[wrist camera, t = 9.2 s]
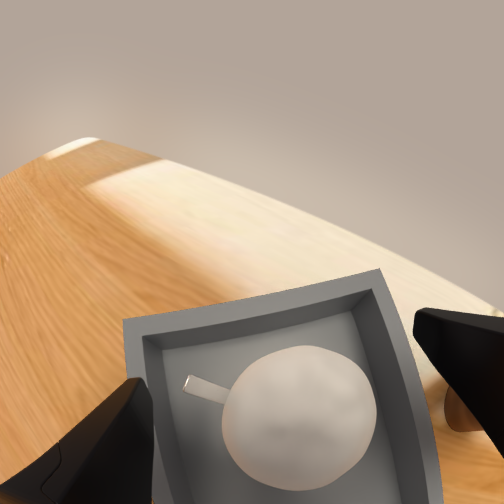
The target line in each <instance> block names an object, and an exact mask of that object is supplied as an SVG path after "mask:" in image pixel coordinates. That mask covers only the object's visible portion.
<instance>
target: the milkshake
mask: <svg viewBox="0 0 504 504" xmlns="http://www.w3.org/2000/svg"><path fill="white" fill-rule="evenodd" d="M183 392H185V393H187V394H190V395H193V396H196V397H200V398H203V399H206V400H210V401H213V402H217V403H220V404H224V409H223V414H222V434H223V439H224V442H225V445H226V447H227V449H228V451H229V453H230V455H231V457H232V458H233V460H234V461H235V462H236V464H237V465H238V466H239V467H240V468H241V469H242V470H243V471H244V472H245V473H246V474H247V475H249V476H250V477H252V478H253V479H255V480H257V481H259V482H261V483H264V484H266V485H269V486H272V487H276V488H279V489H284V490H291V491H303V490H311V489H317V488H320V487H323V486H326V485H328V484H330V483H332V482H333V481H335V480H336V479H338V478H339V477H340V476H342V475H343V474H344V473H346V472H347V471H348V470H349V469H351V468H352V467H353V466H354V465H355V464H356V463H357V462H358V461H359V460H360V459H361V458H362V457H363V455H364V454H365V452H366V450H367V448H368V446H369V444H370V441H371V439H372V436H373V433H374V429H375V424H376V403H375V398H374V394H373V391H372V388H371V385H370V383H369V380H368V379H367V377H366V375H365V374H364V372H363V371H362V370H361V369H360V367H359V366H358V365H356V364H355V363H354V362H353V361H351V360H350V359H348V358H347V357H345V356H343V355H341V354H338V353H336V352H333V351H330V350H327V349H324V348H320V347H316V346H308V345H303V346H295V347H290V348H286V349H283V350H280V351H277V352H274V353H271V354H268V355H266V356H264V357H262V358H260V359H258V360H257V361H255V362H254V363H252V364H251V365H250V366H249V367H247V368H246V369H245V370H244V371H243V373H242V374H241V375H240V376H239V377H238V379H237V380H236V382H235V383H234V385H233V386H232V388H231V390H229V389H227V388H224V387H222V386H219V385H216V384H214V383H211V382H209V381H207V380H204V379H202V378H199V377H197V376H195V375H192V374H190V375H188V377H187V380H186V382H185V384H184V387H183Z"/></svg>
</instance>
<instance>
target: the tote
mask: <svg viewBox="0 0 504 504" xmlns="http://www.w3.org/2000/svg"><path fill="white" fill-rule="evenodd" d="M123 334H124V349H125V360H126V370H127V379H129V378H134V377H141V378H143V380H144V381H145V384H146V386H147V388H148V390H149V392H150V394H151V396H152V399H153V418H154V459H153V476H152V498H153V501H154V504H444V500H443V489H442V481H441V473H440V466H439V459H438V453H437V448H436V442H435V437H434V432H433V428H432V423H431V419H430V414H429V410H428V406H427V402H426V398H425V394H424V391H423V387H422V384H421V380H420V377H419V373H418V370H417V367H416V363H415V360H414V357H413V354H412V351H411V348H410V345H409V342H408V339H407V336H406V333H405V330H404V328H403V325H402V322H401V320H400V317H399V314H398V312H397V309H396V306H395V304H394V301H393V299H392V296H391V294H390V291H389V289H388V287H387V284H386V282H385V279H384V277H383V275H382V272H381V270H380V268H379V269H375V270H371V271H367V272H363V273H359V274H355V275H351V276H347V277H343V278H339V279H334V280H330V281H326V282H321V283H317V284H313V285H308V286H304V287H299V288H295V289H290V290H285V291H281V292H276V293H271V294H266V295H261V296H256V297H251V298H246V299H241V300H236V301H231V302H225V303H220V304H215V305H209V306H203V307H198V308H192V309H186V310H180V311H174V312H168V313H162V314H155V315H149V316H142V317H135V318H128V319H123ZM303 345H308V346H316V347H320V348H324V349H327V350H330V351H333V352H336V353H338V354H341V355H343V356H345V357H347V358H348V359H350V360H351V361H353V362H354V363H355V364H356V365H358V366H359V367H360V369H361V370H362V371H363V372H364V374H365V375H366V377H367V379H368V380H369V383H370V385H371V388H372V391H373V394H374V398H375V403H376V424H375V429H374V433H373V436H372V439H371V441H370V444H369V446H368V448H367V450H366V452H365V454H364V455H363V457H362V458H361V459H360V460H359V461H358V462H357V463H356V464H355V465H354V466H353V467H352V468H351V469H349V470H348V471H347V472H346V473H344V474H343V475H342V476H340V477H339V478H338V479H336V480H335V481H333V482H332V483H330V484H328V485H326V486H323V487H320V488H317V489H311V490H303V491H291V490H284V489H279V488H276V487H272V486H269V485H266V484H264V483H261V482H259V481H257V480H255V479H253V478H252V477H250V476H249V475H247V474H246V473H245V472H244V471H243V470H242V469H241V468H240V467H239V466H238V465H237V464H236V462H235V461H234V460H233V458H232V457H231V455H230V453H229V451H228V449H227V447H226V445H225V442H224V439H223V434H222V414H223V409H224V404H220V403H217V402H213V401H210V400H206V399H203V398H200V397H196V396H193V395H190V394H187V393H185V392H183V387H184V384H185V382H186V380H187V377H188V375H190V374H192V375H195V376H197V377H199V378H202V379H204V380H207V381H209V382H211V383H214V384H216V385H219V386H222V387H224V388H227V389H229V390H231V388H232V386H233V385H234V383H235V382H236V380H237V379H238V377H239V376H240V375H241V374H242V373H243V371H244V370H245V369H246V368H247V367H249V366H250V365H251V364H252V363H254V362H255V361H257V360H258V359H260V358H262V357H264V356H266V355H268V354H271V353H274V352H277V351H280V350H283V349H286V348H290V347H295V346H303Z"/></svg>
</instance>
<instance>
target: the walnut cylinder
mask: <svg viewBox="0 0 504 504" xmlns="http://www.w3.org/2000/svg"><path fill="white" fill-rule="evenodd" d="M445 416H446V420H447V422H448V424H449V426H450V427H451V428H452V429H453V430H455V431H458V432H469V431H482V430H484V429H483V428H482V427H481V425H480V424H479V423H478V421H477V420H476V419H475V417H474V416H473V415H472V413H471V412H470V411H469V409H468V408H467V407H466V406H465V404H464V403H463V402H462V400H461V399H460V398H459V397H458V395H457V394H456V393H455V392H454V390H453V389H452V388H451V387H449V389H448V391H447V395H446V399H445Z"/></svg>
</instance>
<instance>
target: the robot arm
mask: <svg viewBox="0 0 504 504" xmlns="http://www.w3.org/2000/svg"><path fill="white" fill-rule="evenodd" d="M413 336H414V338H415V340H416V341H417V342H418V344H419V345H420V347H421V348H422V350H423V351H424V353H425V354H426V355H427V357H428V358H429V360H430V361H431V363H432V364H433V366H434V367H435V368H436V370H437V371H438V372H439V373H440V374H441V376H442V377H443V378H444V379H445V381H446V382H447V383H448V384H449V385H450V387H451V388H452V389H453V390H454V392H455V393H456V394H457V395H458V397H459V398H460V399H461V400H462V402H463V403H464V404H465V406H466V407H467V408H468V409H469V411H470V412H471V413H472V415H473V416H474V417H475V419H476V420H477V421H478V423H479V424H480V425H481V427H482V428H483V429H484V431H485V432H486V434H487V435H488V436H489V438H490V439H491V441H492V442H493V443H494V445H495V447H496V448H497V449H498V451H499V452H500V454H501V455H502V457H503V458H504V318H503V317H495V316H487V315H479V314H471V313H463V312H456V311H448V310H441V309H434V308H427V307H425V308H422V309H420V310H418V311H416V313H415V317H414V325H413ZM153 459H154V418H153V399H152V396H151V394H150V392H149V390H148V388H147V386H146V384H145V381H144V380H143V378H141V377H134V378H129V379H127V380H126V381H125V382H124V383H123V384H122V385H121V386H120V387H118V388H117V389H116V390H115V391H114V392H113V393H112V394H111V395H110V396H109V397H107V398H106V399H105V400H104V401H103V402H102V403H101V404H100V405H99V406H97V407H96V408H95V409H94V410H93V411H92V412H91V413H90V414H88V415H87V416H86V417H85V418H84V419H83V420H82V421H81V422H79V423H78V424H77V425H76V426H75V427H74V428H73V429H72V430H70V431H69V432H68V433H67V434H66V435H65V436H64V437H63V438H61V439H60V440H59V443H58V442H57V443H56V444H55V445H54V446H52V447H51V448H50V449H49V450H48V451H47V452H45V453H44V454H43V455H42V456H41V457H39V458H38V459H37V460H35V461H34V462H33V463H31V464H30V465H29V466H27V467H26V468H24V469H23V470H22V471H20V472H19V473H17V474H16V475H14V476H13V477H11V478H10V479H8V480H7V481H5V482H4V483H2V484H1V485H0V504H151V501H152V476H153Z"/></svg>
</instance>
